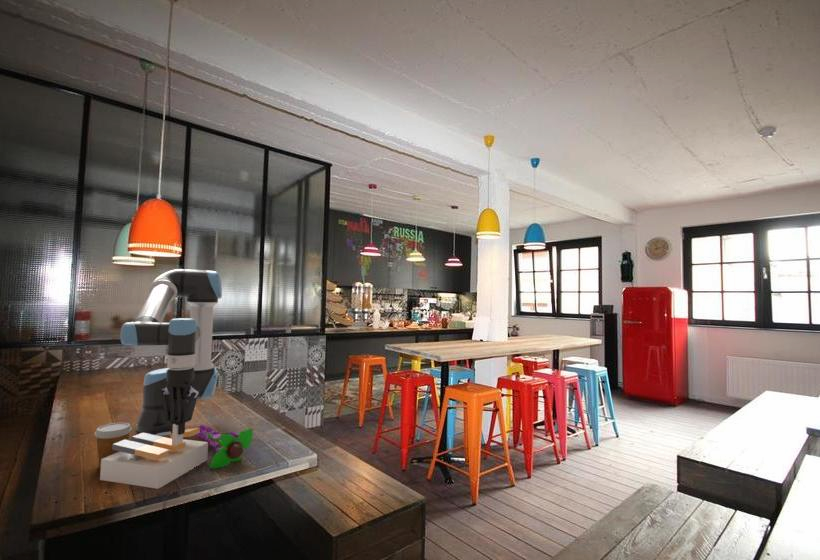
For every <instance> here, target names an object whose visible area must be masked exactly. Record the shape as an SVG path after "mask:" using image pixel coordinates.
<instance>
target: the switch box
mask: <svg viewBox="0 0 820 560" xmlns="http://www.w3.org/2000/svg"><path fill="white" fill-rule="evenodd" d="M183 441H184V442H185V447H184V448H181V449H179V450H177V451H175V452H174V451H170V450H169V455H167V456H165V457H163V458H161V459H159V460H154V459H150V458H146V457H141V456H137V455H133V454H129V453H124V452H117V453H115V454H113V455H110V456H108V457H105V458H103V459H101V468H100V473H99V475H100V476H99V481H105V482H110V483H117V484H118V483H119V484H126V485H130V486H139V487H142V488H143V487H144V488H151V489H160V488H162V487H164V486H165V485H167V484H169V483H171V482H172V481H174V480H176V479H178V478H180V477H181V476H183V475H185V474H186V473H188V472H190V471H191V470H193V469H195V468H197V467H198V466H200V465H201V463H202V464H204V463H205V462H207V461H208V449H209V441H202V440H192V439H184V438H183ZM206 460H207V461H206ZM203 462H204V463H203ZM196 466H197V467H196ZM194 467H195V468H194ZM189 470H190V471H189Z"/></svg>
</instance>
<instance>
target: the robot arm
mask: <svg viewBox="0 0 820 560" xmlns="http://www.w3.org/2000/svg"><path fill="white" fill-rule="evenodd" d="M148 289H149V290H148V292H149V294H148V296H147V298H146V300H145V302H144V304H143V306H142V307H141V309H140V311H139V313H138V315H137V317H136V318H135V320H134V321H131V322H129V321H128V322H124V323H123V324H122V326H121V328H120V334H119V336H120V343H121V344H122V345H123V346H132V347H133V346H134V347H142V346H146V347H147V346H167V361H166V363H167V364H166V365H167V367H165V368H158V369H154V370H152V371H149V372H147V373H146V374H145V375H144V378H143V384H142V386H143V387H142V388H143V392H142V406H141V407H142V409H141V412H140V414H139V418H138V421H137V422H136V424H135V431H136V432H137V433H139V434H140V433H148V434H158V433H163V432H170V431H171V434H172V445H178V444H180V443H182V442H183V439H184V438H183V434H184V432H185V429H186V423H188V422H190V421H191V420H192V418H193V415H194V411H195V407H196V405H197V401H198V400H204V399H211V398H212V397H214V394H215V390H216V385H217V381H218V376H219V370H218V369H215V367H216V366H215V365H214V364H213V362H212V350H213V349H212V346H213V345H212V344H213V328H214V323H213V322H214V307H215V305H217V304H218V301H219V299H222V297H223V293H222V291H223V290H222V280H221V275H220V273H219V272H218V271H215V270H209V269H204V270H203V269H183V268H179V269H178V268H175V269H172V270H168V271H166V272H163V273H162V274H160V275H158V277H156V278H155V279H154V280H153V281H152V282H151V284H150V286H149V288H148ZM175 298H186V303H187V304H188V305H189V306H190V311H189V313H190V314H189V317H185V318H183V317H179V318H172V319H170V321H169V322H163V320H164V318H165V317H166V314H167V311H168V309H169V307H170V304H171V302H172V301H173V300H175Z"/></svg>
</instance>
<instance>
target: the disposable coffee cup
mask: <svg viewBox="0 0 820 560" xmlns="http://www.w3.org/2000/svg"><path fill="white" fill-rule="evenodd" d="M132 429H133V427H131V424H130V422H129V423H128V422H113V423H108V424H103V425H101V426H99V427H97V428H96V430H95V432H94V436H95V437H96V448H97V458H98V468H99V469H101V459H103V458H105V457H108V456H110V455H113V454H115V453H117V452H120V451H116V450H112V446H113V444H114V443H117V442H120V441H122V440H129V438H130V433H131V431H132Z"/></svg>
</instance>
